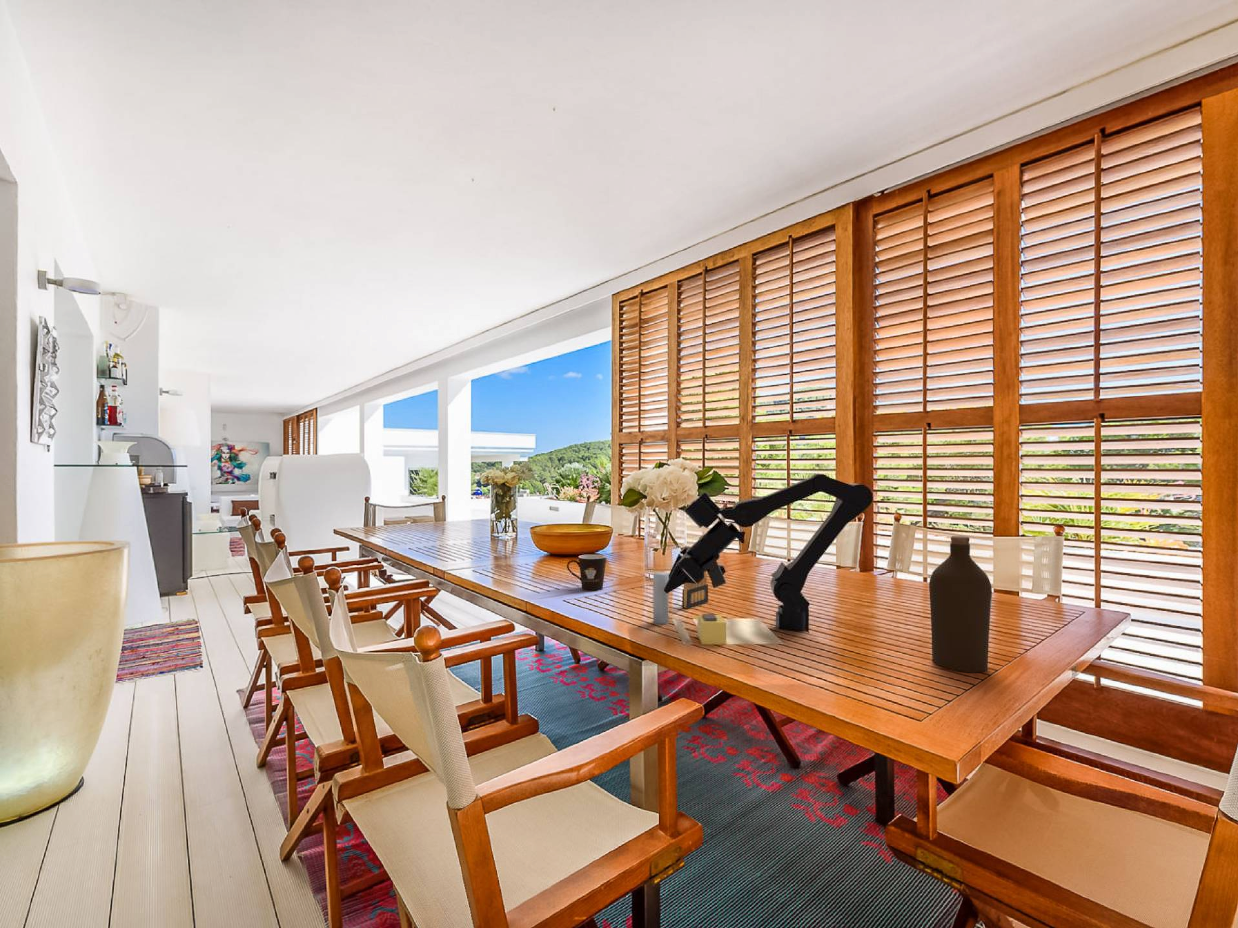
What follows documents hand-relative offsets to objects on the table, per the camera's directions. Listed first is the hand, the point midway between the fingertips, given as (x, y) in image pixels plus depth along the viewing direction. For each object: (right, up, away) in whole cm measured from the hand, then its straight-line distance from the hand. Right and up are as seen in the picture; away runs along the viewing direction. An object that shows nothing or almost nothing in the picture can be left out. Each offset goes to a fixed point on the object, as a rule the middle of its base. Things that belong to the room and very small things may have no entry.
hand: (666, 587), depth 139 cm
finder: (+9, -8, -13) cm, 18 cm away
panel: (+13, -10, -6) cm, 17 cm away
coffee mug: (-21, -10, +45) cm, 50 cm away
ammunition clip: (+10, -10, +24) cm, 27 cm away
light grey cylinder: (-1, -10, 0) cm, 10 cm away
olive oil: (+56, -10, -24) cm, 61 cm away
